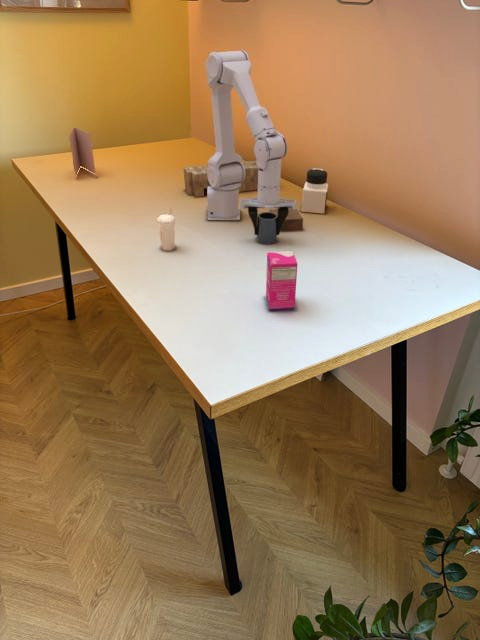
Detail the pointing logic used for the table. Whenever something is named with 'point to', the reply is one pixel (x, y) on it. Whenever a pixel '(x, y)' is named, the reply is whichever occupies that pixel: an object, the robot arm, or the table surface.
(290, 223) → the block
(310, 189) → the medicine bottle
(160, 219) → the milkshake
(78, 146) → the greeting card
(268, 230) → the cup
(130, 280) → the table surface
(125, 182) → the table surface
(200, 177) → the block tower
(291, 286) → the supplement box
